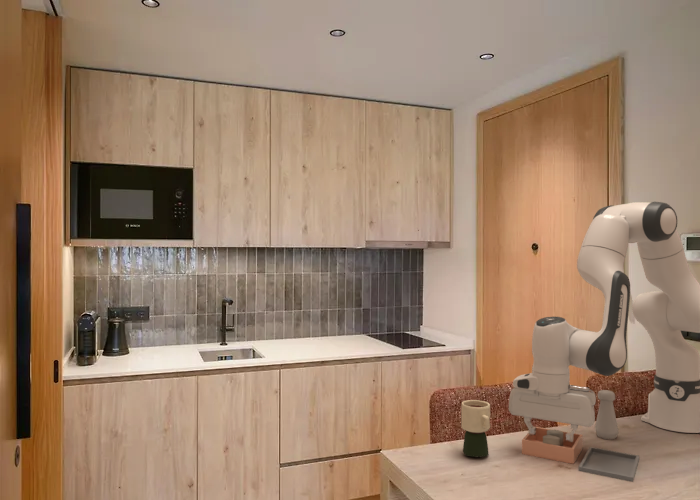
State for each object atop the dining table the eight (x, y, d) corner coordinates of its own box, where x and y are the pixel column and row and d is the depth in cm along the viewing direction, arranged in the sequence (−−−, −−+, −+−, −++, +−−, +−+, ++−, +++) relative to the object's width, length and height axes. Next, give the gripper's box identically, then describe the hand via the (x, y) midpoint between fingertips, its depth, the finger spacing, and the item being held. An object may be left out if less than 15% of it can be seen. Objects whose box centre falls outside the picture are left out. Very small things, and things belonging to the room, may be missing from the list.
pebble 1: (544, 449, 139) (544, 434, 139) (561, 453, 137) (561, 437, 137) (541, 454, 136) (541, 438, 136) (557, 458, 134) (557, 441, 134)
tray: (589, 452, 139) (589, 446, 139) (639, 461, 133) (639, 455, 133) (578, 472, 126) (578, 466, 126) (632, 483, 120) (632, 477, 120)
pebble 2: (548, 443, 143) (548, 428, 143) (564, 446, 141) (564, 431, 141) (545, 448, 140) (545, 432, 140) (561, 451, 138) (561, 435, 138)
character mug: (500, 461, 133) (500, 408, 133) (475, 465, 131) (475, 411, 131) (475, 446, 143) (475, 396, 143) (452, 449, 141) (452, 399, 141)
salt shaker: (613, 435, 152) (613, 388, 152) (621, 442, 146) (621, 394, 146) (591, 434, 152) (591, 388, 152) (599, 441, 147) (599, 393, 147)
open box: (534, 441, 147) (534, 426, 147) (582, 450, 140) (582, 434, 140) (521, 455, 137) (521, 439, 137) (573, 466, 130) (573, 449, 130)
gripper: (597, 385, 134) (597, 441, 134) (513, 375, 145) (513, 427, 145) (593, 391, 128) (593, 449, 128) (506, 379, 139) (506, 434, 139)
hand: (550, 437), depth 137 cm, fingers open, 8 cm apart
